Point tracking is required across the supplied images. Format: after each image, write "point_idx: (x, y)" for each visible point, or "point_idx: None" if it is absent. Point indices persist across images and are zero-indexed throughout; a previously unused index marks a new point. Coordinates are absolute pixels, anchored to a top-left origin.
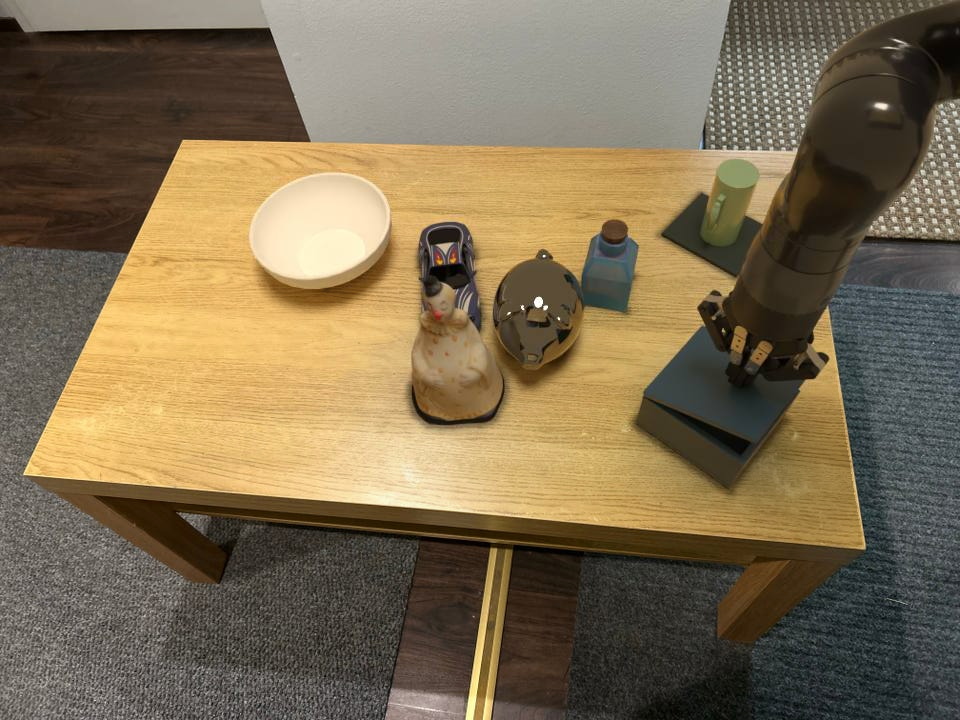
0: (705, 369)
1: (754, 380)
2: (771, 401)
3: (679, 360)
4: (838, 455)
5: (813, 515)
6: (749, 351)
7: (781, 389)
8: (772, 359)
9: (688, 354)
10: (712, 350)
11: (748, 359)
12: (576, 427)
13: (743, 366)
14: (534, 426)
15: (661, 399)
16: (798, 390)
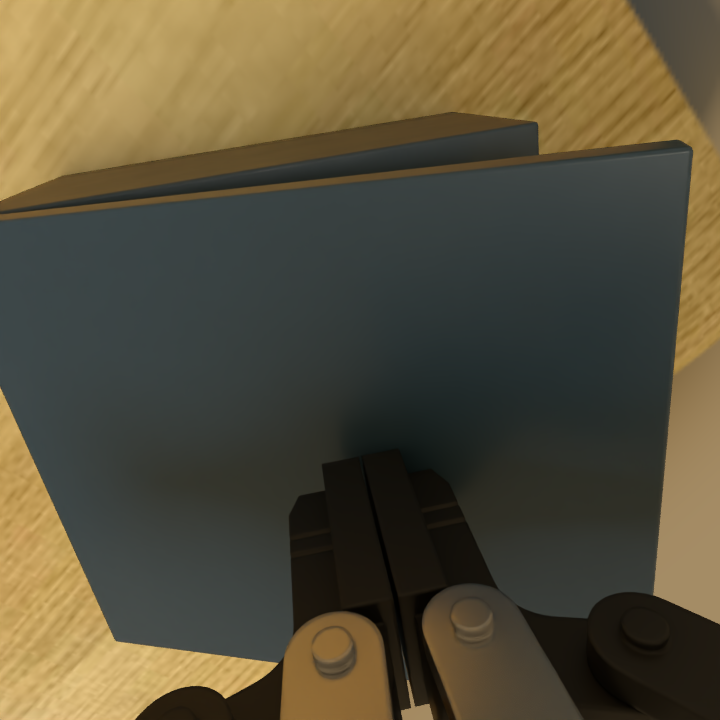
0: (193, 476)
1: (432, 452)
2: (595, 536)
3: (70, 475)
4: (661, 81)
5: (680, 302)
6: (394, 714)
7: (600, 454)
8: (601, 716)
9: (64, 430)
10: (119, 365)
11: (399, 638)
12: (78, 597)
13: (412, 689)
14: (13, 667)
15: (192, 650)
16: (531, 132)
